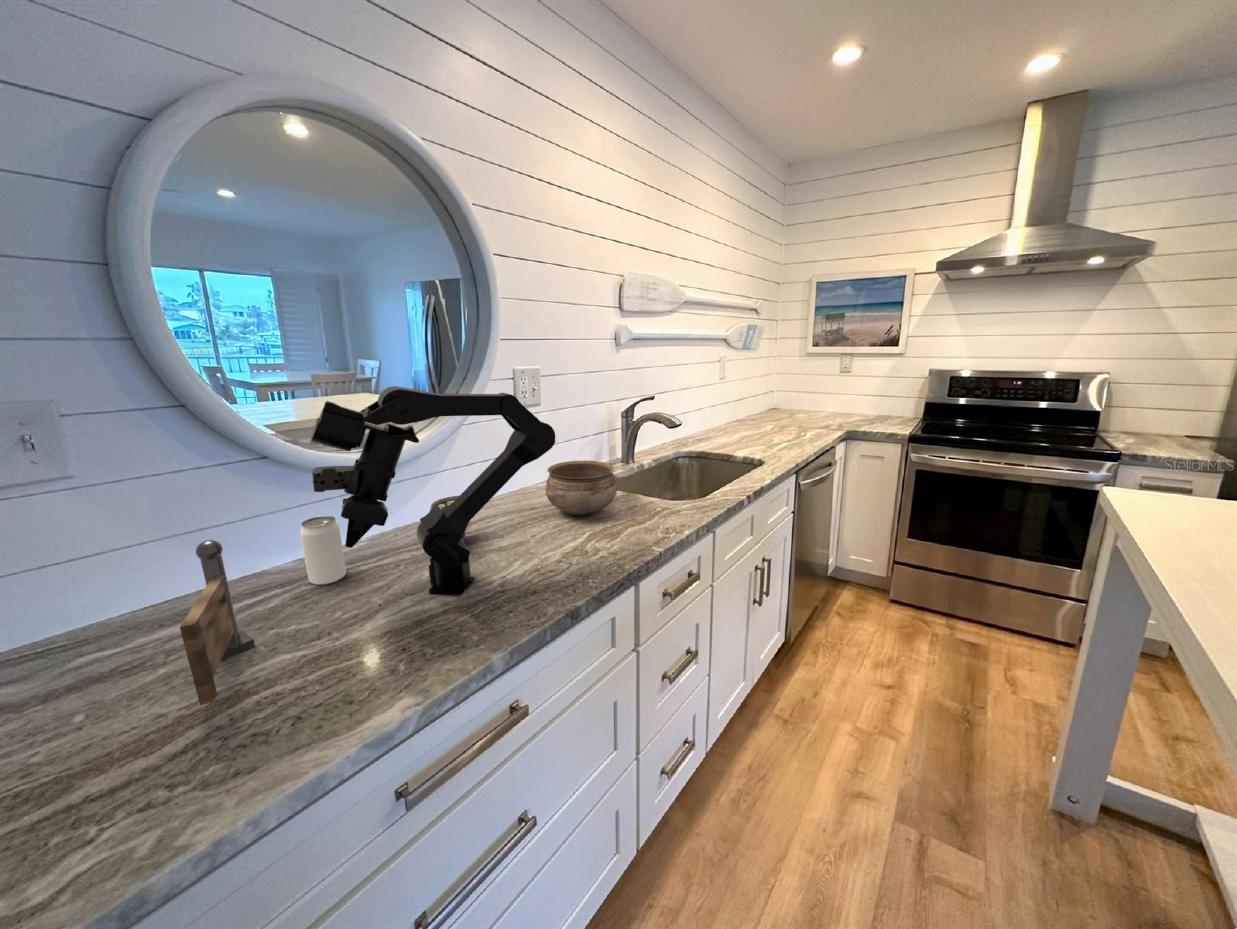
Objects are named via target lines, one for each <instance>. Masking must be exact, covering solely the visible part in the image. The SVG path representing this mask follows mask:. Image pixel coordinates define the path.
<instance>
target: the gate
mask: <svg viewBox="0 0 1237 929" xmlns="http://www.w3.org/2000/svg"><path fill="white" fill-rule="evenodd" d="M179 630H180V633H181V637H182V642H183V644H184V648H185V653H186V656H187V661H188V664H189V668H190V671H191V676H192V679H193V683H194V686H195V691H196V694H197V698H198V703H199V706H203V705H206V704H210V703H214V702H215V701H216V698H217V695H218V693H217V692H218V691H217V688H216V683H215V681H214V680H215V678H214V676H215V674H216V672H217V671H218V668H219V665H220V663H221V662H222V661H221V659H222V657H223V655H224V652H225V650H226V649H230V648H234V647H237V646H238V644H239V637H238V633H237V628H236V624H235V619H234V615H233V610H232V606H231V602H230V597H229V593H228V588H227V584H226V580H225V575H220V576H214V577H212V578H211V580H210V581H209V583H208V584H207V586H205V588H204V589H203V590H202V592H201V594H200V596H199V597H198V598H197V599H196V601H195V603H194V605H193V606H192V607H191V609H190V611H189V613H188V614H187V615H186V617H185V619H184V620H183V622H182V623H181V625H180V626H179Z"/></svg>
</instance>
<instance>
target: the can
mask: <svg viewBox="0 0 1237 929" xmlns="http://www.w3.org/2000/svg"><path fill="white" fill-rule="evenodd" d="M300 538H301V544H302V551H303V556H304V561H305V569H306V572H307V577H308V581H309V583H310V584H312V585H314V586H315V585H316V586H325V585H331V584H333V583H336V582H338V581H340V580H342V579H343V578H344V577H345V575H346V574H347V569H346V561H345V555H344V554H345V553H344V548H343V541H342V535H341V530H340V525H339V523H338V522H337V521H336V517H335V516H333V515H332V516H331V515H323V516H322V515H321V516H314V517H311V518H308V519H306V520H304V521H302V522H301V528H300Z"/></svg>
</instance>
